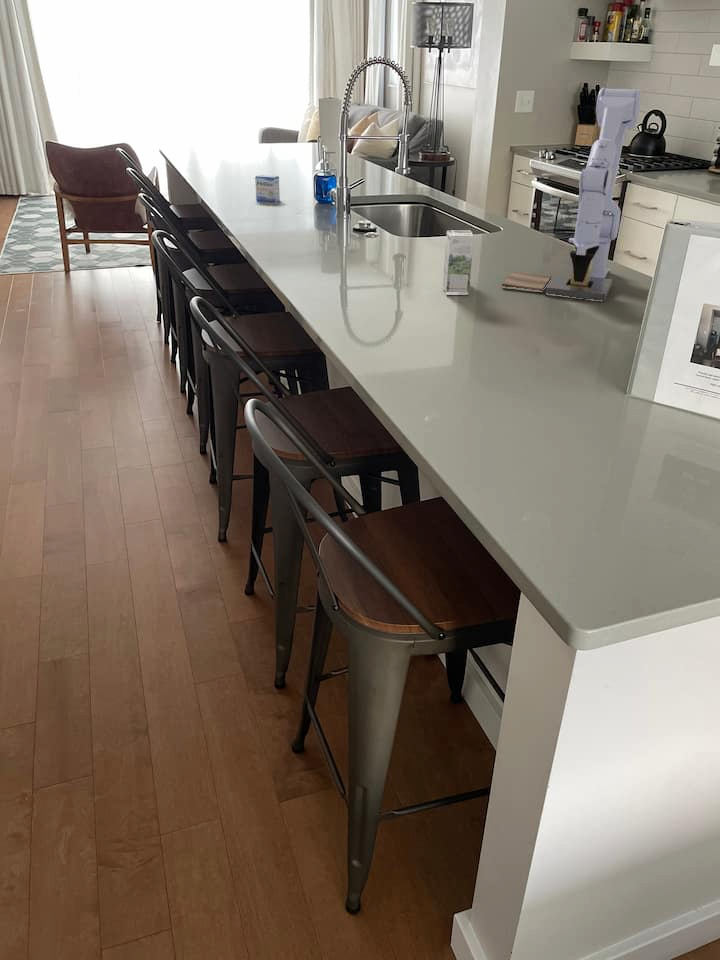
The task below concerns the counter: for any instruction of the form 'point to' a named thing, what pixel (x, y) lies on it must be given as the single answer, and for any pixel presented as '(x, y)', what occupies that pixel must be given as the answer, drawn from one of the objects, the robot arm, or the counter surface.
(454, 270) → the syrup box
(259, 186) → the medicine box
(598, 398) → the counter surface
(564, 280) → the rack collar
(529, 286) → the walnut board
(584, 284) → the brass peg
